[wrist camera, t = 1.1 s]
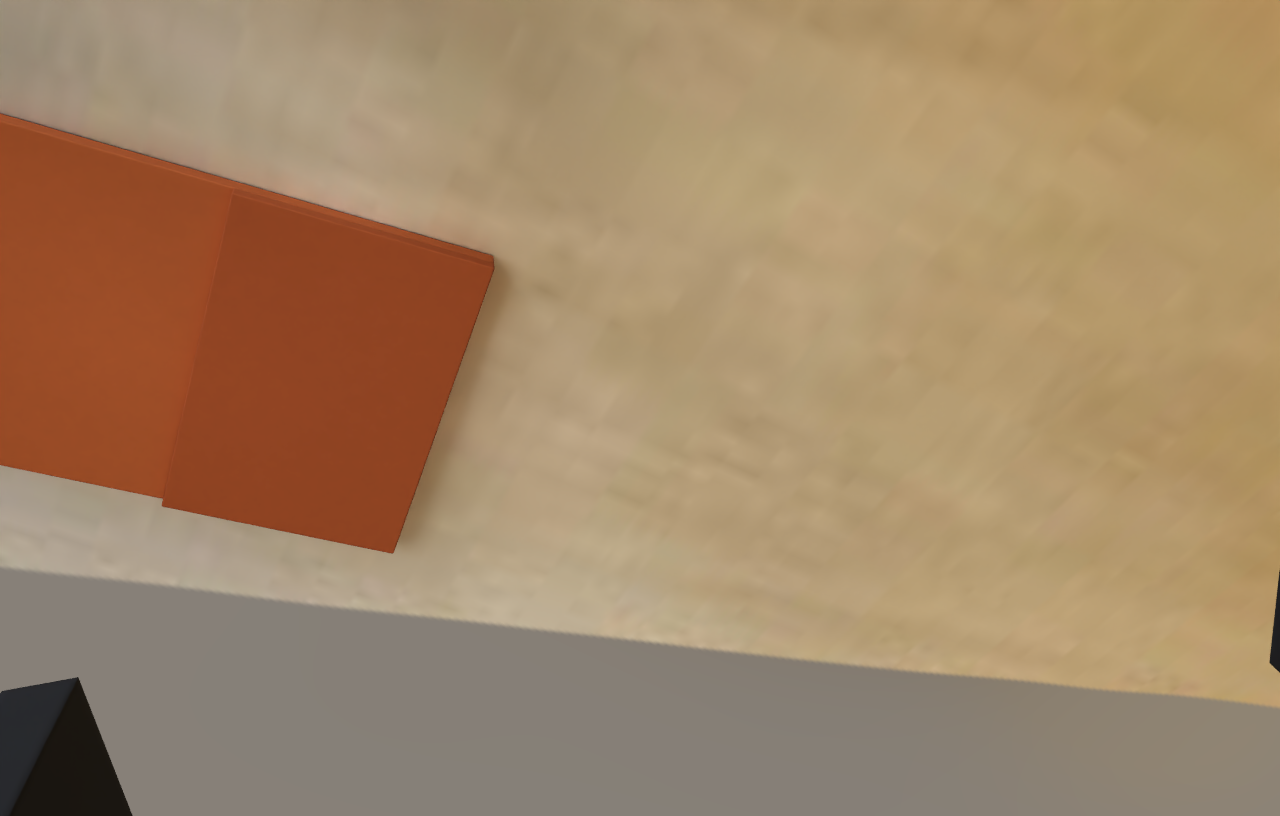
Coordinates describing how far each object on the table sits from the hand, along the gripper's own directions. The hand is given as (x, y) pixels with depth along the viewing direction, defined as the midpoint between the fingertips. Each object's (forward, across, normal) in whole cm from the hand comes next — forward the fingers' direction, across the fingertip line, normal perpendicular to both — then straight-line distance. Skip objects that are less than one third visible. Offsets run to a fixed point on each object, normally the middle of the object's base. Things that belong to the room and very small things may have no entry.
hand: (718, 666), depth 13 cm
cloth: (+27, -12, -4) cm, 30 cm away
